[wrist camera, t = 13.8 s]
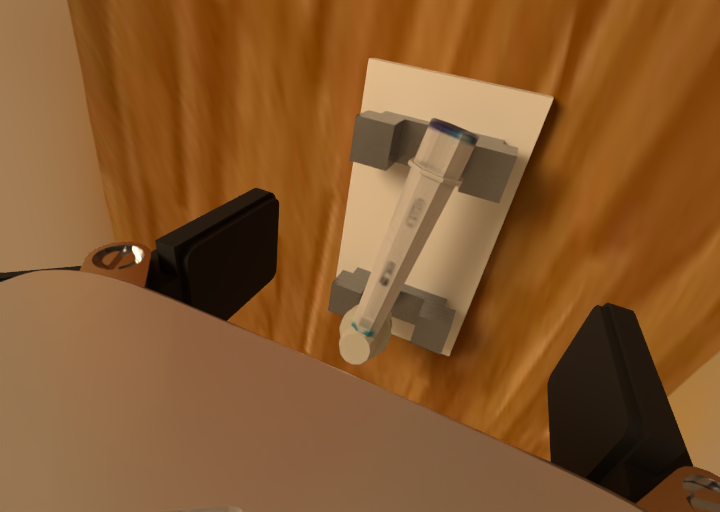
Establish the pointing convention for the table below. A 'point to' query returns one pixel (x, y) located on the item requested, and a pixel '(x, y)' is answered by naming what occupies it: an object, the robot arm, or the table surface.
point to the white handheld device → (406, 236)
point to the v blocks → (481, 179)
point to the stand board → (462, 212)
